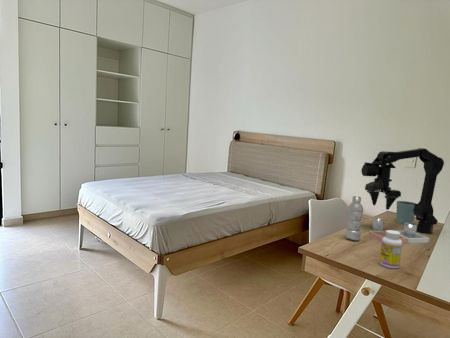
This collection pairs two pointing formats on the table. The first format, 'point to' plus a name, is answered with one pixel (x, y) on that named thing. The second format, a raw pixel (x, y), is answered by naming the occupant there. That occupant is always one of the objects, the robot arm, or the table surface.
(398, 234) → the supplement bottle
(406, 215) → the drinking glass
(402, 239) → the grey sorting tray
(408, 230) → the billet
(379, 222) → the steel billet
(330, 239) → the table surface
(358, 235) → the plastic bottle
